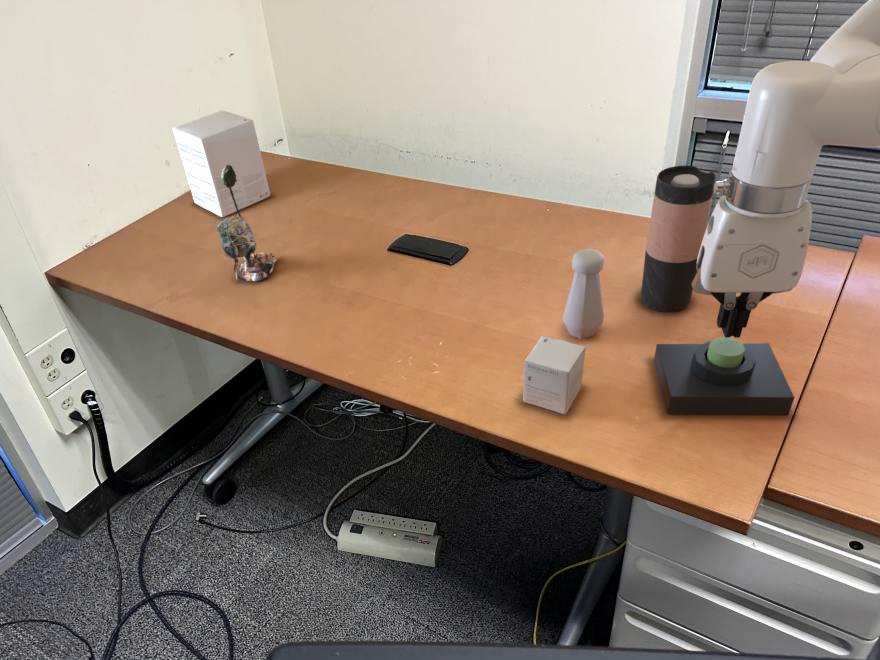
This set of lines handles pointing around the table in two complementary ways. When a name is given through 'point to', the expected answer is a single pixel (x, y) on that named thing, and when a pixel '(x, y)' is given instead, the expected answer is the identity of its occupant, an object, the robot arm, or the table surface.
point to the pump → (725, 352)
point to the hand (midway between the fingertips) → (729, 330)
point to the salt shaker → (585, 295)
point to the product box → (553, 374)
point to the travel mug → (675, 236)
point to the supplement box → (222, 161)
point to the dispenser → (721, 382)
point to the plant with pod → (242, 240)
